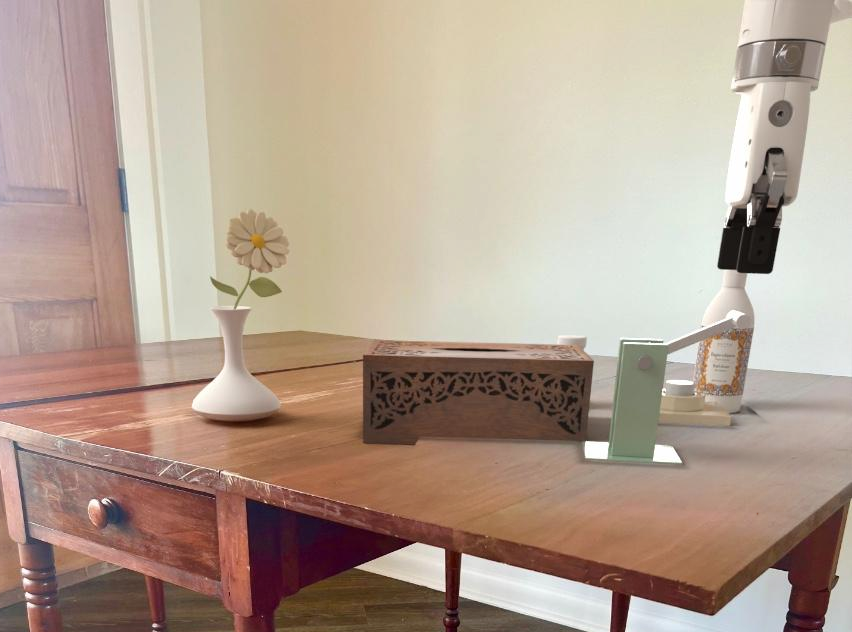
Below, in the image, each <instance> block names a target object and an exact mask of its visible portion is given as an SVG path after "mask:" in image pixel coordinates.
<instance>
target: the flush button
mask: <svg viewBox="0 0 852 632" xmlns="http://www.w3.org/2000/svg"><path fill="white" fill-rule="evenodd" d="M694 386H695V383H694V382H693V381H690V380H681V379H669V380H666V381H665V386H664V389H665V394H669V395H678V396H691V395H693V393H694Z"/></svg>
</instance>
